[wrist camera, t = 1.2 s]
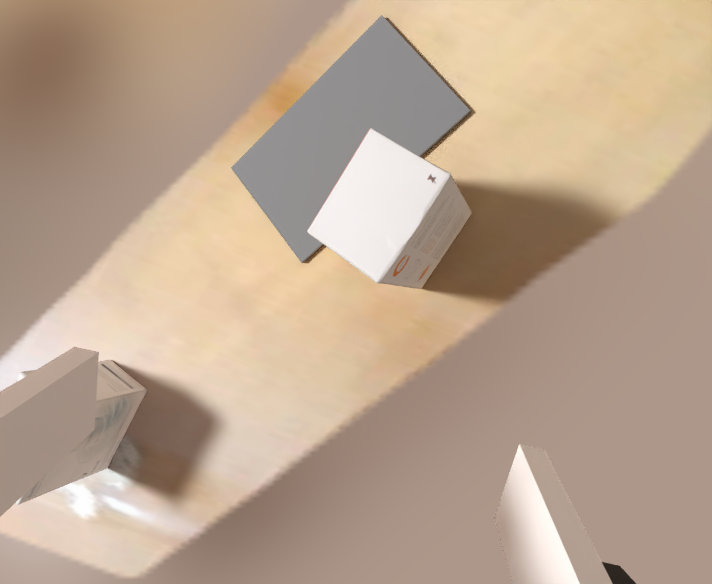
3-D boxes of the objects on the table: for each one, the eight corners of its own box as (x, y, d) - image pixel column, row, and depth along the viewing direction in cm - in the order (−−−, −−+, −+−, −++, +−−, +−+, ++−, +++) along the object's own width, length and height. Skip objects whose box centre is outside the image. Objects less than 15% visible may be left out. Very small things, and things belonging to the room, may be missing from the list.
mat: (383, 17, 44) (381, 15, 44) (470, 111, 42) (470, 110, 41) (233, 168, 49) (231, 167, 49) (303, 262, 46) (301, 262, 46)
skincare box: (110, 470, 53) (15, 508, 43) (71, 436, 55) (-28, 464, 45) (151, 390, 52) (63, 410, 42) (110, 357, 54) (16, 369, 44)
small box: (413, 175, 43) (370, 123, 31) (473, 212, 41) (454, 173, 29) (363, 252, 44) (303, 232, 32) (420, 291, 43) (380, 285, 30)
